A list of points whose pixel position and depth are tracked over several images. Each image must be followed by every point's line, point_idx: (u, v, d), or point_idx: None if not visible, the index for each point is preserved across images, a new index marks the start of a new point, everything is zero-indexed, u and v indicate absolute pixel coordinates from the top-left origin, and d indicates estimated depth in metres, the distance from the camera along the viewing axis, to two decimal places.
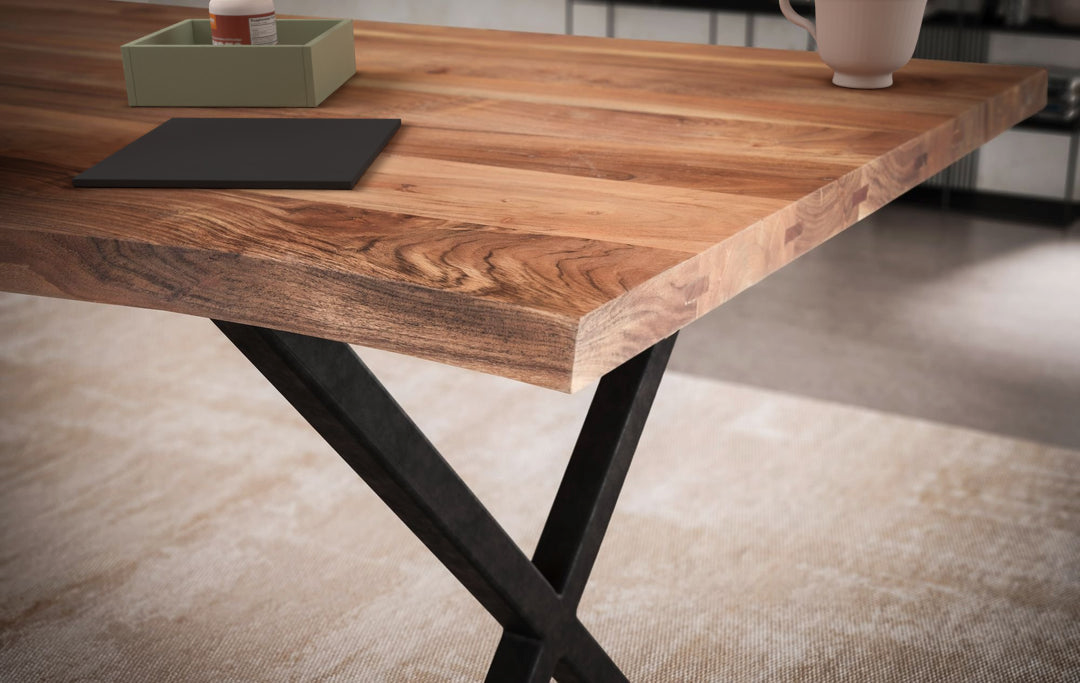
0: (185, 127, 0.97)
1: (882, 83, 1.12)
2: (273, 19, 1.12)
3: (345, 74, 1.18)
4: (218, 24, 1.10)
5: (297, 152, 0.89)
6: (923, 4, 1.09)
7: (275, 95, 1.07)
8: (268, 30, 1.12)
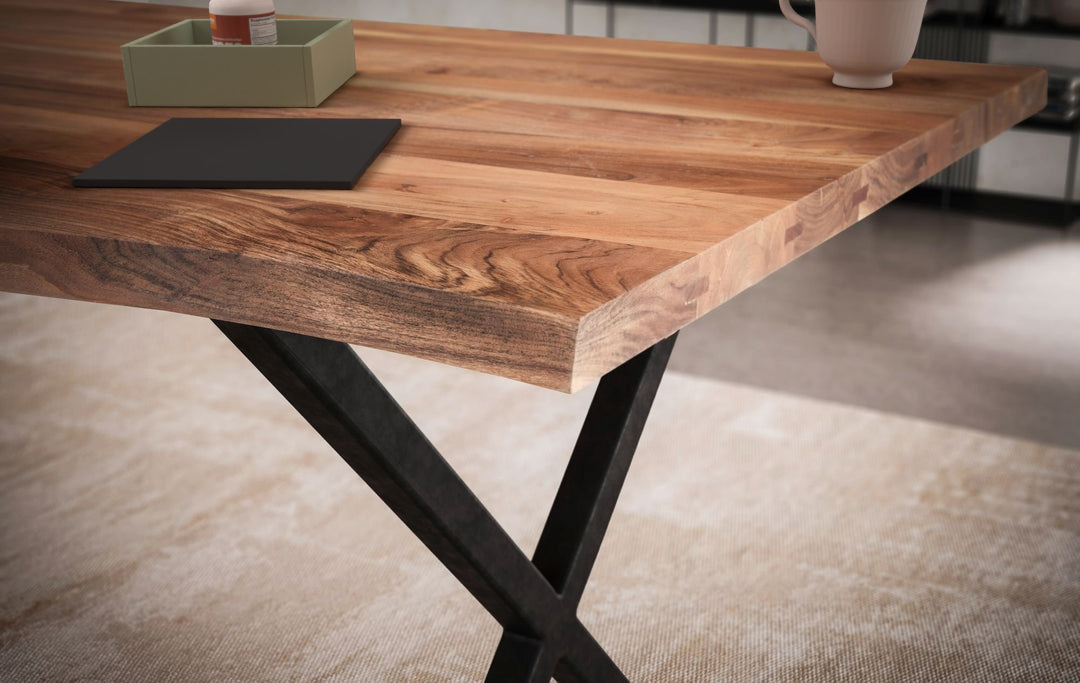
0: (185, 127, 0.97)
1: (882, 83, 1.12)
2: (273, 19, 1.12)
3: (345, 74, 1.18)
4: (218, 24, 1.10)
5: (297, 152, 0.89)
6: (923, 4, 1.09)
7: (275, 95, 1.07)
8: (268, 30, 1.12)
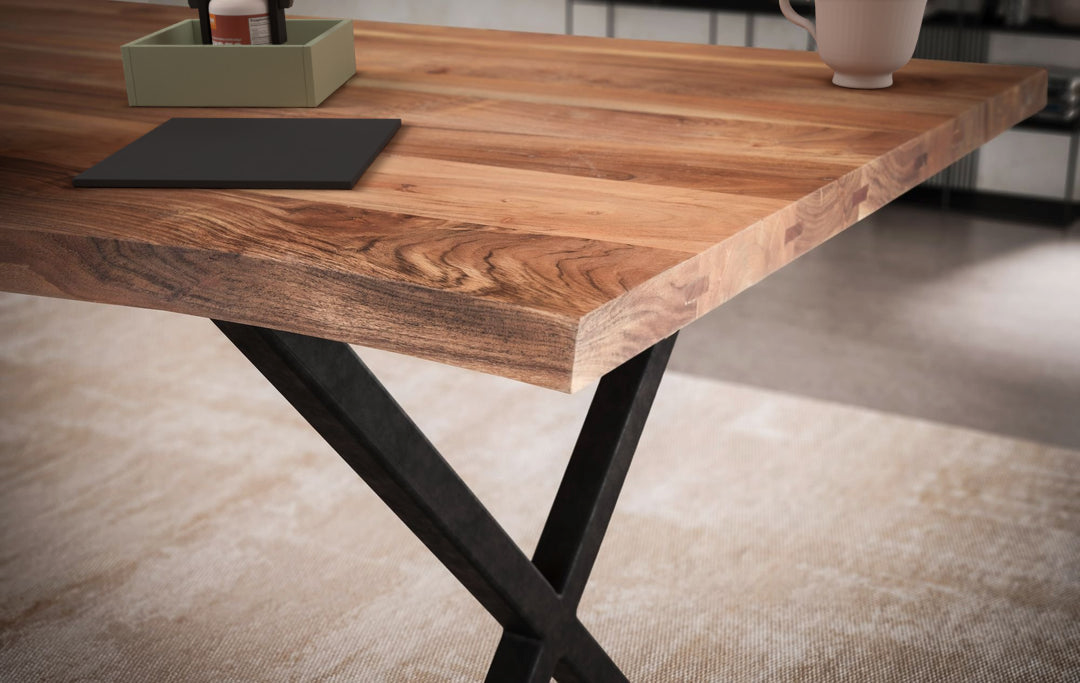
0: (185, 127, 0.97)
1: (882, 83, 1.12)
2: None
3: (345, 74, 1.18)
4: (218, 24, 1.10)
5: (297, 152, 0.89)
6: (923, 4, 1.09)
7: (275, 95, 1.07)
8: (268, 30, 1.12)
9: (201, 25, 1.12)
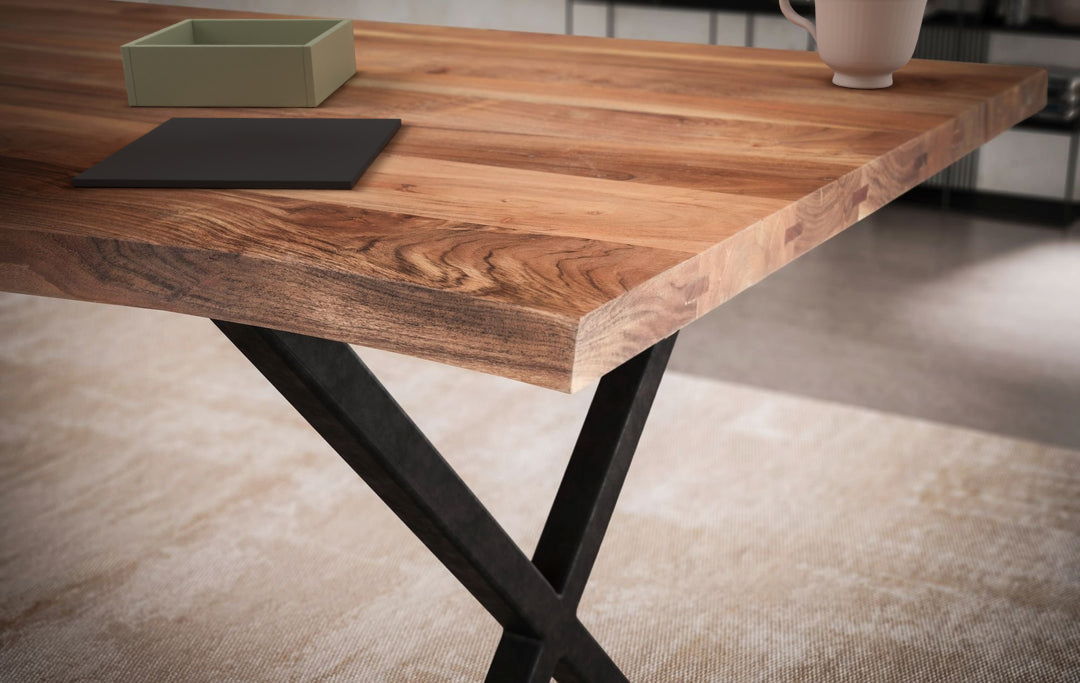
0: (185, 127, 0.97)
1: (882, 83, 1.12)
2: None
3: (345, 74, 1.18)
4: None
5: (297, 152, 0.89)
6: (923, 4, 1.09)
7: (275, 95, 1.07)
8: None
9: None
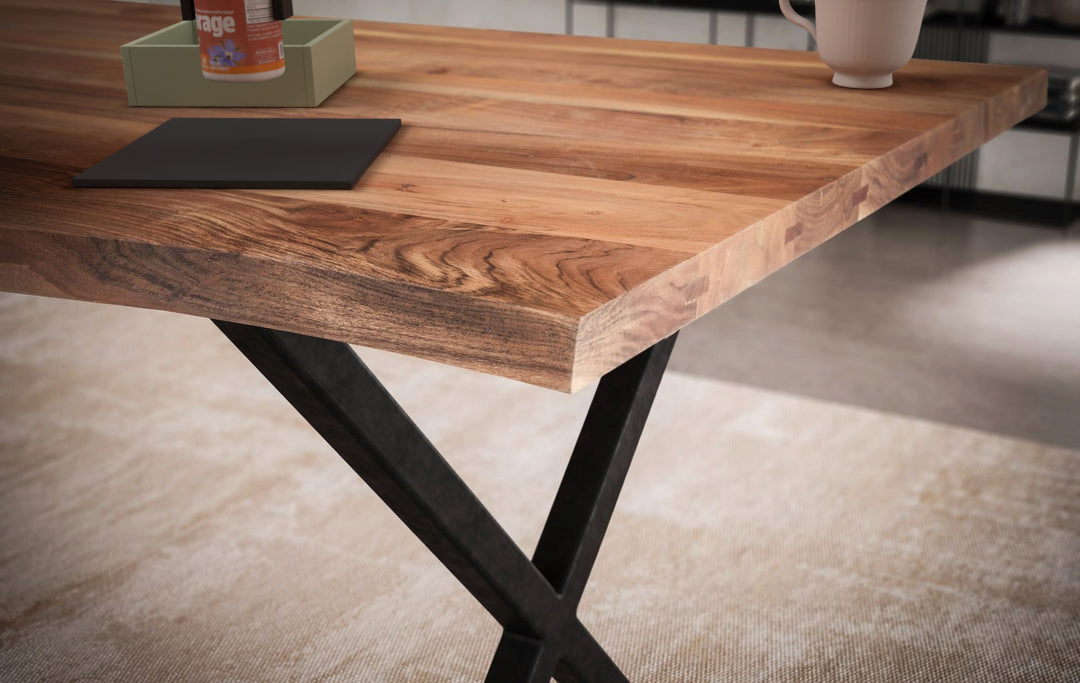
0: (185, 127, 0.97)
1: (882, 83, 1.12)
2: None
3: (345, 74, 1.18)
4: None
5: (297, 152, 0.89)
6: (923, 4, 1.09)
7: (275, 95, 1.07)
8: (268, 0, 0.85)
9: None
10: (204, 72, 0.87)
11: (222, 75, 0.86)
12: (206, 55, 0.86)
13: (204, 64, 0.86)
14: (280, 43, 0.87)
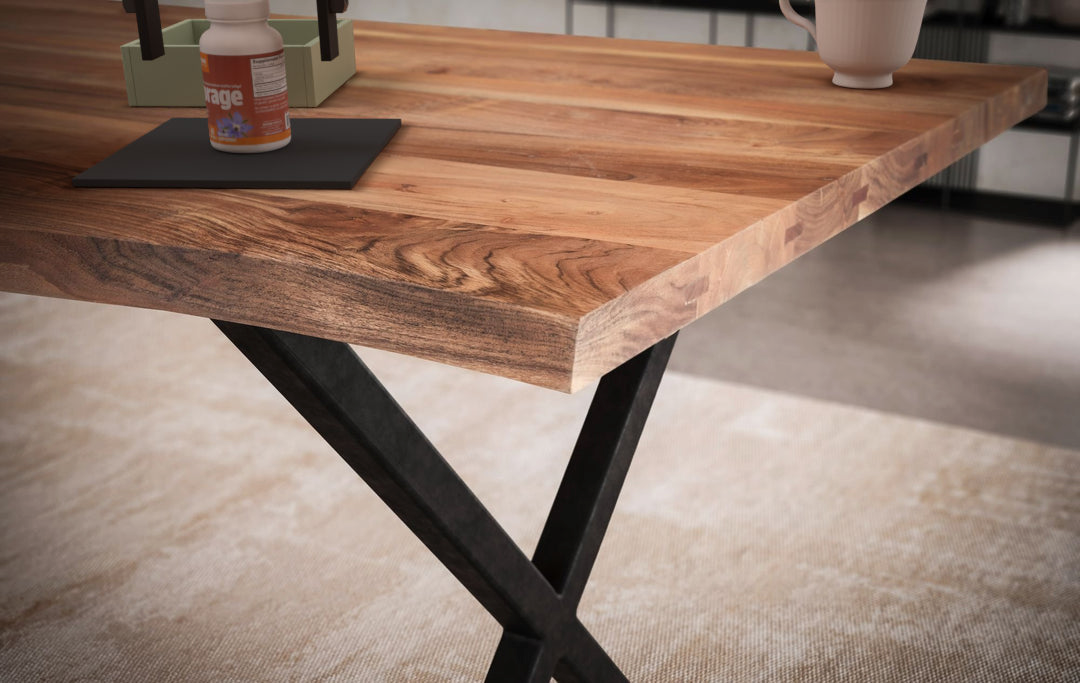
0: (185, 127, 0.97)
1: (882, 83, 1.12)
2: (281, 59, 0.88)
3: (345, 74, 1.18)
4: (211, 66, 0.86)
5: (297, 152, 0.89)
6: (923, 4, 1.09)
7: None
8: (275, 73, 0.87)
9: (140, 34, 0.87)
10: (212, 142, 0.89)
11: (230, 145, 0.88)
12: (215, 126, 0.88)
13: (212, 135, 0.89)
14: (286, 114, 0.90)
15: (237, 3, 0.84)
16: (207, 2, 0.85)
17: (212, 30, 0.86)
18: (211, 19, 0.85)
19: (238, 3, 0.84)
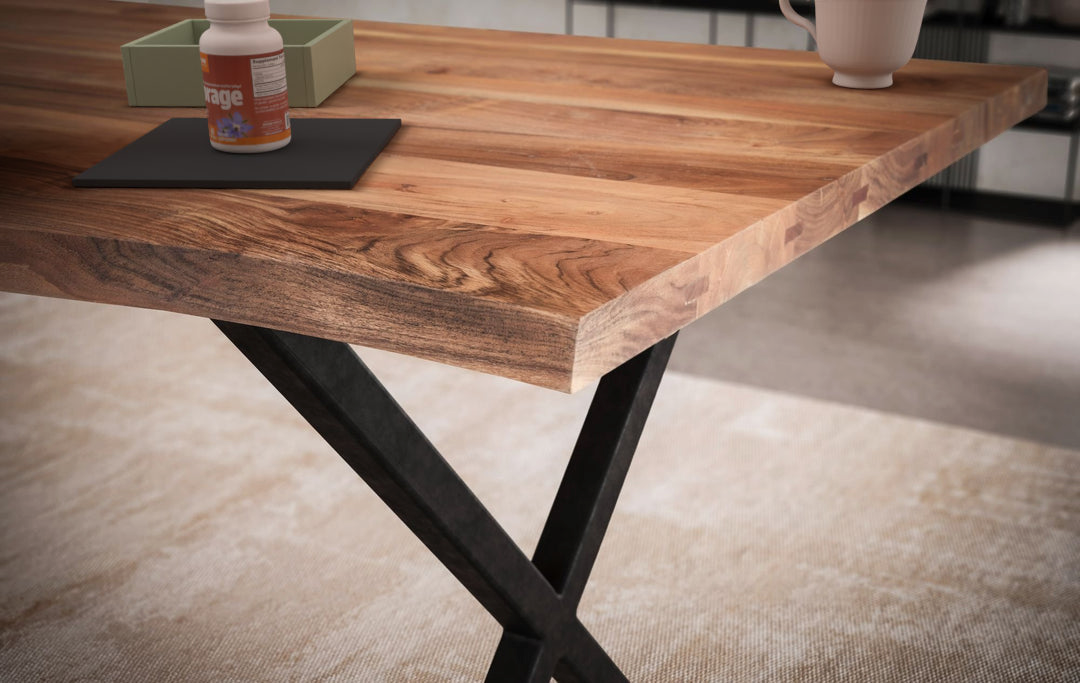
0: (185, 127, 0.97)
1: (882, 83, 1.12)
2: (281, 59, 0.88)
3: (345, 74, 1.18)
4: (211, 66, 0.86)
5: (297, 152, 0.89)
6: (923, 4, 1.09)
7: None
8: (275, 73, 0.87)
9: None
10: (212, 142, 0.89)
11: (230, 145, 0.88)
12: (215, 126, 0.88)
13: (212, 135, 0.89)
14: (286, 114, 0.90)
15: (237, 3, 0.84)
16: (207, 2, 0.85)
17: (212, 30, 0.86)
18: (211, 19, 0.85)
19: (238, 3, 0.84)
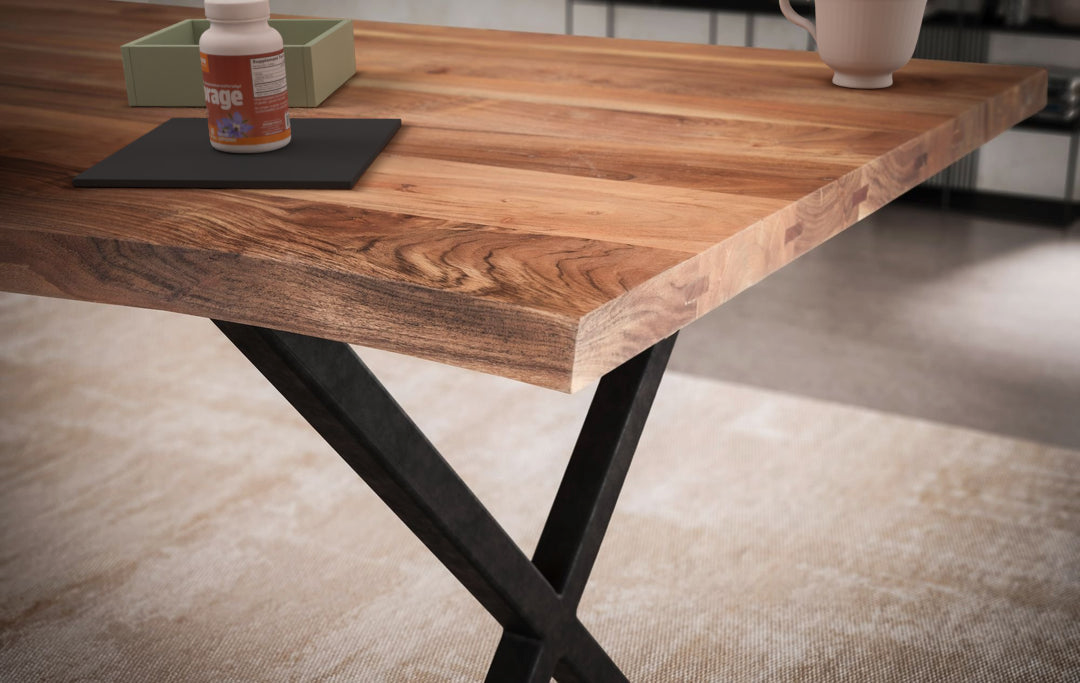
0: (185, 127, 0.97)
1: (882, 83, 1.12)
2: (281, 59, 0.88)
3: (345, 74, 1.18)
4: (211, 66, 0.86)
5: (297, 152, 0.89)
6: (923, 4, 1.09)
7: None
8: (275, 73, 0.87)
9: None
10: (212, 142, 0.89)
11: (230, 145, 0.88)
12: (215, 126, 0.88)
13: (212, 135, 0.89)
14: (286, 114, 0.90)
15: (237, 3, 0.84)
16: (207, 2, 0.85)
17: (212, 30, 0.86)
18: (211, 19, 0.85)
19: (238, 3, 0.84)
